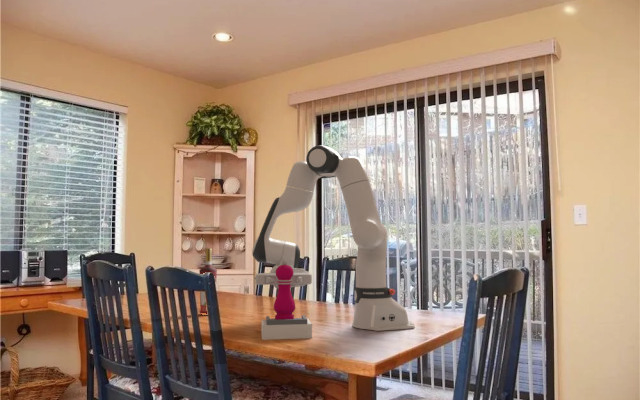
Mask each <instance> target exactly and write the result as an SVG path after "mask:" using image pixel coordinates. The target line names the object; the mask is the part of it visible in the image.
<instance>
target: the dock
mask: <svg viewBox="0 0 640 400" xmlns="http://www.w3.org/2000/svg"><path fill="white" fill-rule="evenodd" d="M260 326H261V327H260V329H261V332H260V333H261V340H262V341H264V340H265V341H268V340H289V339H290V340H294V339H299V340H300V339H313V323H312V322H311V321H310V319H309V318H307V317H306V315H305V314H301V317H294V319H282V320H275V318H270V316H269V315H267V316H265V319H261V324H260Z"/></svg>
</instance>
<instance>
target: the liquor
mask: <svg viewBox="0 0 640 400" xmlns="http://www.w3.org/2000/svg"><path fill="white" fill-rule="evenodd" d="M212 249H213V248H205V252H204V254H205V262H204V267H202V268H200V269H199V275H200V274H203V273H205V272H212V273H213V274H214V276H215V282H216V283H217V276H218V275H217V272H218V269H217V268H215V267H214V266H213V264H212V261H213V260H212V252H213V251H212ZM199 297H200V298H199V300H200V307H199V308H200V309H199V312H198V313H200V314H201V313H206V314H207V311H206V301H205V293H204V292H200V291H199Z"/></svg>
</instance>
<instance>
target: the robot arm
mask: <svg viewBox="0 0 640 400" xmlns="http://www.w3.org/2000/svg"><path fill="white" fill-rule="evenodd" d="M305 158H306V159H305V160H299V161H297V162H295V163H294V164H293V165H292V168H291V169H290V172H289V174H288V178H287V181H286V187H285V189H284V192H283V193H282V194H281V195H280V196H278V197H276V198H274V200H273V201H272V204H271V206H270V208H269V211H268V212H267V215H266V218H265V220H264V223H263V225H262V227H261V230H260V233H259V235H258V236H257V238H256V239H255V242H254V244H253V246H252V250H251V251H252V256H253V258H254V259H255V261H256V262H258V263H264V264H266V263H268V264H272V265H274V266H273V267H272V268H271V269H270V271H269V272H262V273H261V272H260V273H256V274H255V276H254V277H253V278H254V281H255V285H257V286H264V285H265V286H266V285H267V286H268V285H269V286H270V285H271V286H273V287H274V288H276V289H277V290H278V289H279V287H278V284H277V280H278V277H277V276H276V269H277V268H278V267H279V266H281V265H283V264H282V261H283V260H286V261H287V265H289V266H291V267H292V269H293V272H294V274H293V276H292V278H291V279H292V284H291V288H298V287H305V286H306V285H312V281H313V276H312V273H311V272H310V271H307V270H306V268H301V267H299V264H300V260H301V250H300V248H299V246H298V244H297V243H296V242H293V241H287V240H282V239H278V238H276V239H275V238H272V237H271V233H272V231H273V229H274V226H275V224H276V221H277V220H278V219H279V217H280V216H282V215H284V214H290V213H297V212H300V211H303V210H305V209H307V208H308V207H309V206H310V205H311V202H312V199H313V196H314V192H315V186H316V184H317V181H318V179H328V178H331V179H332V178H335V177H336V178H337V181H338V183H339V186H340V189H341V193H342V196H343V200H344V202H345V203H344V204H345V206H346V210H347V211H346V212H347V216H348V220H349V225H350V231H351V234H352V238H353V239H352V240H353V241H354V243H355V244H356V245H357V255H356V263H355V287H354V302H355V304H354V305H355V306H354V307H355V309H354V314H353V320H352V324H351V327H353V328H356V329H362V330H371V331H375V332H376V331H377V332H381V331H393V330H395V331H396V330H406V329H407V330H408V329H414V328H415V323H414V322H412V321H410V320H409V317H408V316H409V315H408V313H407V310H406V309H405V307H404V306H402V305H401V304H400V303H399V302H397V300H396V299H393V297H392V296H394V295H395V293H396V290H395V288H390V287H388V286H387V248H388V247H387V246H388V244H387V243H388V232H387V229H386V227H385V225H384V224H383V223H382V221H381V219H380V214H379V211H378V207H377V201H376V198H375V195H374V193H373V192H374V191H373V188H372V185H371V183H370V179H369V175H368V173H367V170H366V169H365V166H364V165H363V163H362V160H361V159H360V158H359V157H357V156H354V155H353V156H351V155H350V156H346V157H343V155H342V154H341V153H339V152H338V151H336V150H335V149H333V148H332V147H329V146H327V145H325V144H324V145H323V144H322V145H321V144H319V145H315V146H313V147H311V148H310V149H309V150H308V152H307V154H306V157H305Z"/></svg>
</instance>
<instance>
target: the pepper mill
mask: <svg viewBox="0 0 640 400" xmlns="http://www.w3.org/2000/svg"><path fill="white" fill-rule="evenodd" d="M282 264H283V265H281V266H279V267H278V268H277V269H276V276H277V277H278V280H277V284H278V287H279V289H277V290H278V291H277V295H276V297H275V299H274V303H273V311H274V312H275V315H274V319H275V320H282V319H294V318H295V315H294V314H293V313H294V311H296V303H295V299H294V298H293V295H292V291H291V290H292V289H291V284H292V279H291V278H292V276H293V274H294V272H293V269H292V267H291V266H289V265H287V261H286V260H283V261H282Z"/></svg>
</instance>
